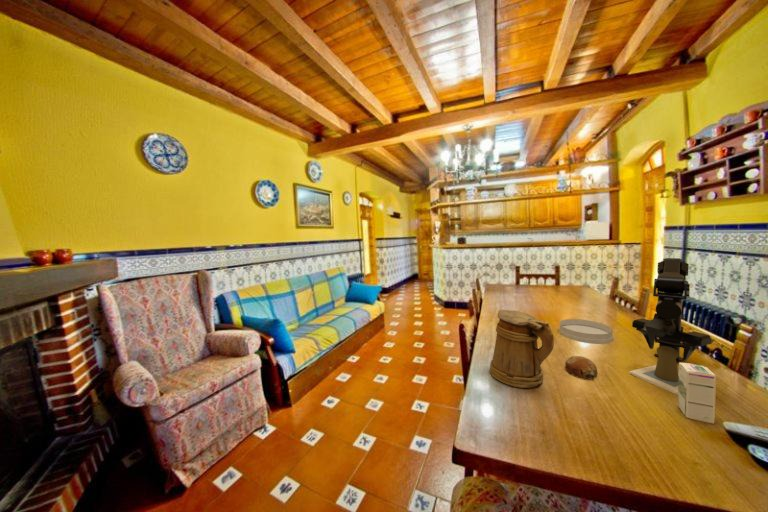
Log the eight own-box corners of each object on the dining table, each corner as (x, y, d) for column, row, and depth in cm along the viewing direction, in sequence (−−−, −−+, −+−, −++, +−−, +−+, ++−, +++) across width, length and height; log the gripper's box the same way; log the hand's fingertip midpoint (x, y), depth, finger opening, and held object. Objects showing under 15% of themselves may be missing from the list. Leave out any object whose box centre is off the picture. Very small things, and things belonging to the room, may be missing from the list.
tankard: (506, 359, 114) (505, 304, 112) (566, 383, 94) (567, 317, 92) (480, 372, 104) (479, 313, 102) (541, 403, 85) (541, 330, 82)
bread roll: (594, 379, 102) (591, 357, 104) (602, 381, 93) (599, 358, 95) (564, 374, 106) (562, 354, 108) (569, 376, 97) (567, 354, 100)
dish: (625, 343, 123) (626, 333, 122) (579, 345, 123) (579, 335, 123) (589, 326, 145) (589, 317, 144) (549, 328, 145) (549, 320, 145)
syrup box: (715, 424, 72) (718, 375, 71) (684, 417, 75) (686, 370, 74) (704, 412, 77) (707, 365, 75) (676, 406, 80) (678, 361, 79)
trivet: (655, 367, 101) (655, 364, 101) (707, 387, 88) (707, 384, 88) (629, 373, 98) (629, 371, 98) (679, 395, 84) (679, 392, 84)
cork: (684, 382, 89) (685, 351, 88) (663, 381, 90) (664, 351, 90) (669, 373, 95) (670, 344, 94) (649, 372, 96) (650, 343, 95)
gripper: (621, 307, 98) (621, 346, 99) (690, 323, 80) (688, 371, 81) (643, 303, 100) (642, 342, 102) (714, 318, 82) (711, 365, 84)
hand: (667, 354), depth 92 cm, fingers open, 9 cm apart
